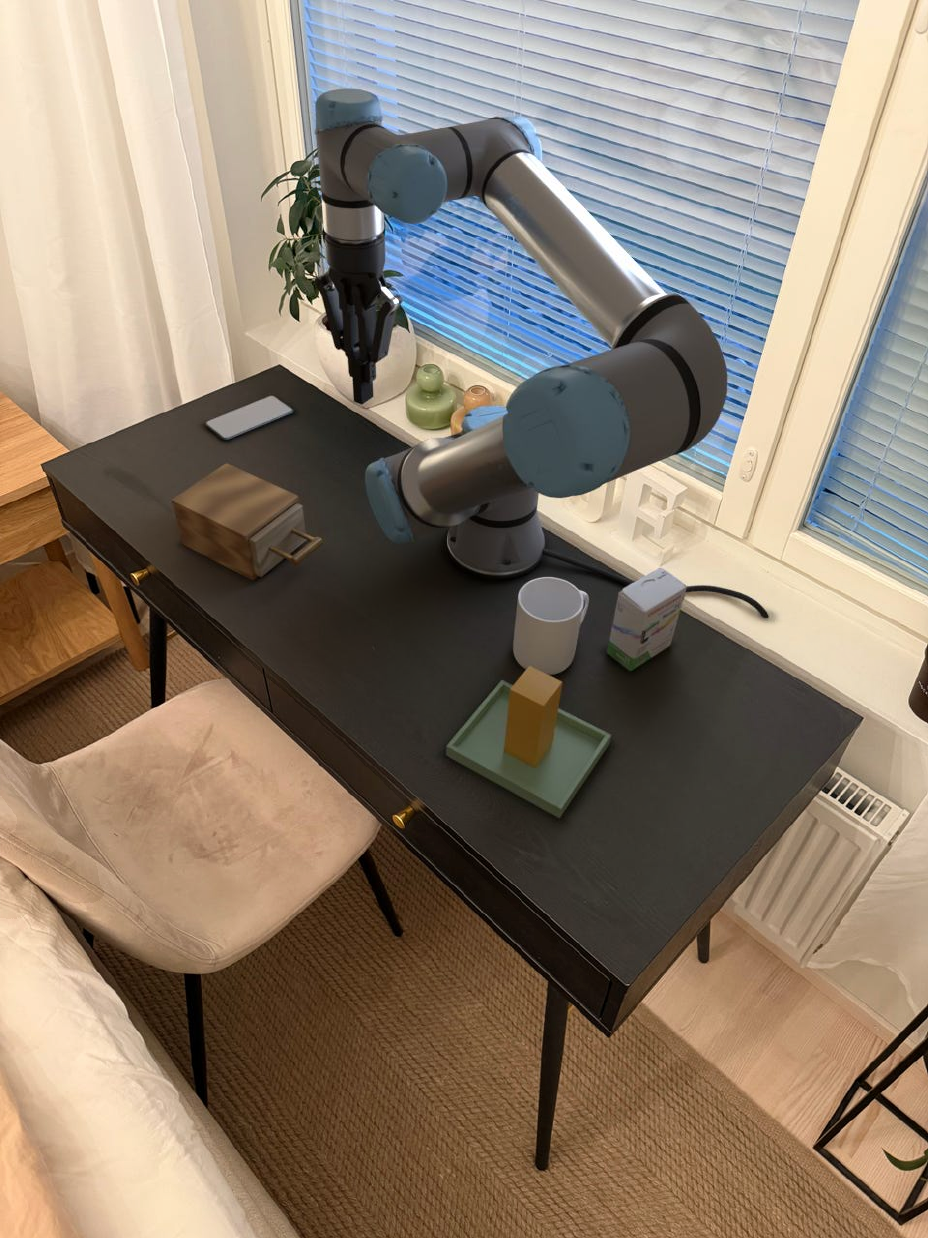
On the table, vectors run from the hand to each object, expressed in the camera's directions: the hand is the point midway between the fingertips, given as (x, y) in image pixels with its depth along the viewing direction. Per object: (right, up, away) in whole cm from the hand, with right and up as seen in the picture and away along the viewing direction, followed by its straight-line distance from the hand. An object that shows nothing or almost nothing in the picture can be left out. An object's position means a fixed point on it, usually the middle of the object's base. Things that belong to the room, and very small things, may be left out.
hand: (363, 398), depth 128 cm
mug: (+27, -36, -3) cm, 45 cm away
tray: (+22, -48, -15) cm, 55 cm away
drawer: (-16, -21, +9) cm, 28 cm away
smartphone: (-25, +5, +36) cm, 44 cm away
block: (+22, -48, -16) cm, 55 cm away
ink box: (+39, -36, -2) cm, 53 cm away
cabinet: (-20, -20, +11) cm, 30 cm away
